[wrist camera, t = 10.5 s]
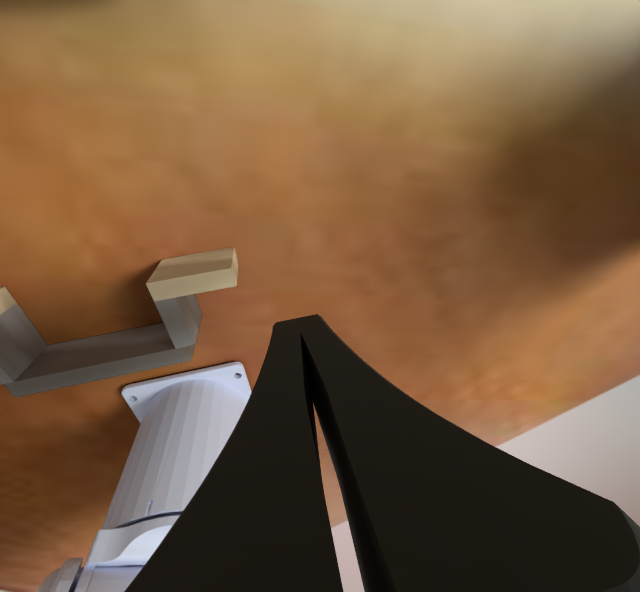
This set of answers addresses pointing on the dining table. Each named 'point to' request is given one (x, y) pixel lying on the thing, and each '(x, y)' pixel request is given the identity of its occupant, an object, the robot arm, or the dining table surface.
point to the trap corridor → (119, 347)
